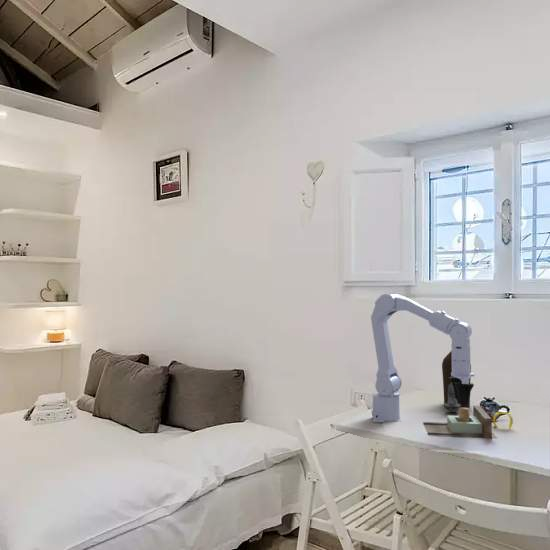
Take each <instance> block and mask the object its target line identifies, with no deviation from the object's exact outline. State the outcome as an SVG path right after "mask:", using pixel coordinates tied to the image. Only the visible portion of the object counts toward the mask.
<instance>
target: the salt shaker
mask: <svg viewBox="0 0 550 550" xmlns="http://www.w3.org/2000/svg"><path fill="white" fill-rule="evenodd" d="M447 395H448V402H447V403H445V404H444V403H443V406H444V408H445V410H446V412H445V414H447V415H449V414H451V415H459V408H460V406H461V405H460V404H458V403H457V399H456V398H455V394H454V389H453V385H452V382H451V384H449V385H448V393H447Z"/></svg>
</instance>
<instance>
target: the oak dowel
mask: <svg viewBox="0 0 550 550" xmlns="http://www.w3.org/2000/svg"><path fill="white" fill-rule="evenodd" d="M458 413H459V414H458V416H459V422H469V416H470V408H469V407H467V408H464V407H461V408H459V411H458Z"/></svg>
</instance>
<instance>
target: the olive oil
mask: <svg viewBox="0 0 550 550" xmlns="http://www.w3.org/2000/svg"><path fill="white" fill-rule="evenodd" d="M441 363H442V364H441V371H442V372H441V373H442V383H443V384H442V385H443V405H444V404H445V403H447V402H448V395H447V393H448V385H449V384H451V380H450V378H449V377H453V376H451V373H452V349H451V350H450V351H449V352H448V353H447V355H446V356H445V357H443V360H442V362H441ZM470 373H472V365H471V363H470ZM471 378H472V376H471V377H470V378H469V383H471ZM471 392H472V391H471ZM471 392H470V395H469V400H468V404H467V405H461V406H460V408H461V407H464V408H469V407H470V406H471ZM457 403H458V404H460V402H459V399H457Z"/></svg>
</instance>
